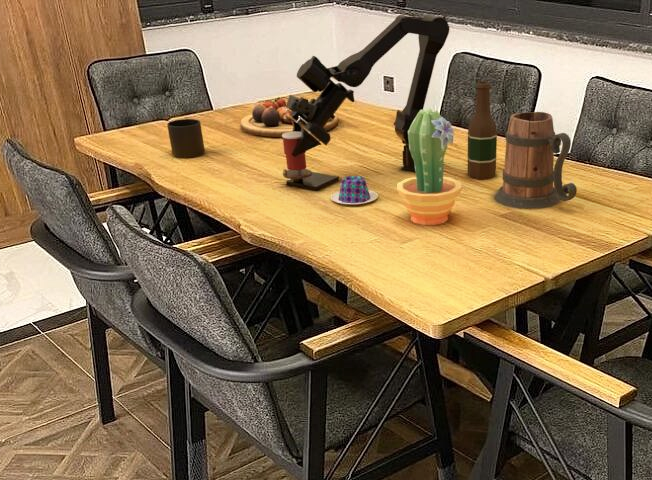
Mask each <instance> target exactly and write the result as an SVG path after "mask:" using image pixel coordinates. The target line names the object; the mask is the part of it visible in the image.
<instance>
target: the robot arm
mask: <svg viewBox="0 0 652 480" xmlns="http://www.w3.org/2000/svg"><path fill="white" fill-rule="evenodd" d="M449 33H450V25H449V23H448V21H447V19H445V18H443V17H441V16H438V15H435V14H425V16H423V17H421V16H412V15H411V16H410V15H405V14H399V15H397V16H396V17H395V18H394V20H393V21H392V22H391V23H390V24H389V25H387V26H386V28H384V29H383V30H382V31H381V32H380V33H379V34H378V35H377V36H376V37H374V39H373V40H371V41H370V42H369V43H368V44H367V45H365V47H363V49H361V50H359V51H358V52H356V53H354V54H351V55H349V56H348V57H346V58H344V59H342V60H341V61H340V62H339V63H338V64H337V65H335V66H331V67H326V66H325V65H324V64H323V63H322V62H321V60H320V59H319V58H318V57H317V56H315V55H312V56H311V58H309V59H308V60H306V61H305V62H304V63H302V64H301V65H300V67H299V68H298V70H297V72H296V77H297V79H298V80H299V81H300V82H302V83H303V84H304V85H305V86H306V87H307V88H309V89H310V90H311V91H312V92H313V93H317V92H319V95H318V96H317V98H315V97H313V98H311V99H310V101H309V99H308V98H304V97H303V96H300V97H298V96H294V95H292V94H289V96H288V99H287V102H286V107H288V108H289V110H291V111H292V112H291V114H290V116H291V117H292V118H294V119H295V120H292V119H291V121H292V124H293V130H292V132H301V133H302V136H301V138H300V139H299V141H298V143H297V145H296V146H295V148H294V150H293V152H292V155H293V156H294V157H296V156H298V155H300V154H302V153H303V152H305V151H306V152H307V151H310V150H311V149H314V148H316V147H318V146H322V144H323V145H325V146H328V144H329V143H330V142H331V134H330V133H329V132H328V131H327V130H326V129H325V128H324V127H325V125H326V124H327V123H328V121H329V120H330V119H331V118H332V119H334V118H335V117H336V116H334V114H336V112H337V111H338V109H339V108H340V107H341V106H342V105H343V103H344V102H345V101H346V100H348V101H350V102H351V103H354V102H355V96H354V94H355V90H353V89H351V88H358V87H359V86H361V85H362V84H363V83H364V81H365V80H366V79H367V78H368V76H369V75H370V73H371V71H372V69H373V67H374V66H375V64H376V63H377V62H379V61H380V59H382V57H384V56H385V55H386V54H388V52H389V51H390V50H391V49H392V48H394V47H395V46H396V45H397V44H398V43H400V41H401V40H403V38H405V37H406V36H407V35H408V34H412V35H413V34H414V35H418V38H417V39H418V47H419V52H418V55H417V60H416V64H415V68H414V72H413V76H412V79H411V84H410V88H409V93H408V96H407V101H406V104H405V106H404V107H403V109H402V110H400V109H397V110H396V114H395V115H396V116H395V121H394V122H393V123H392V125H393V126H394V132H395V134H396V136H397V137H398V138H399V139H400V140H401V143H402V144H404V145H403V150H402V152H401V153H402V166H401V167H400V170H402V171H409V172H414V173H416V172H415V165H414V160H413V157H412V155H411V152H410V150H409V139H408V130H409V128H410V126H411V124H412V122H413V121H414V119H415V117H416V116H417V114H418V112H419V111H420V110H424V107H425V103H426V101H427V97H428V96H427V95H428V91H429V88H430V84H431V80H432V76H433V71H434V69H435V64H436V60H437V57H438V54H439V53H440V52H441V49H443V47H444V46H445V44H446V41H447V39H448V36H449ZM331 78H332V79H333V80H335V81H336V82H338V83H335V82H334V81H333V80H332V79H331ZM342 83H343V84H345V85H346V86H348V87H350V89H347V87H345V85H343V84H342ZM325 130H326V131H325Z"/></svg>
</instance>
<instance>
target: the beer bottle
mask: <svg viewBox="0 0 652 480" xmlns="http://www.w3.org/2000/svg"><path fill="white" fill-rule="evenodd" d="M475 87H476V99H475V110H474V114H473V116H472V118H471V119H470V121H469V124H468V126H467V127H468V129H467V175H468V176H469V178H471V179H475V180H489V179H490V180H491V178H494V177H495V176H496V173H497V146H498V143H497V142H498V130H497V129H498V128H497V123H496V122H495V120H494V118H493V116H492V114H491V99H490V89H491V83H490V82H488V81H478V82H477V83H476V85H475Z"/></svg>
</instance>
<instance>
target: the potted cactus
mask: <svg viewBox="0 0 652 480" xmlns="http://www.w3.org/2000/svg"><path fill="white" fill-rule="evenodd" d="M454 131H455V130H454V128H453V125H452V123H451V122H450V121H448V120H447V119H446V118H444V117H443V116H442V115H441V114H440V113H439V111H438V110H437V109H434V110H432V108H428V109H426V110H424V109H423V110H420V111H419V112H418V114H417V116H416V117H415V119H414V121H413V122H412V124H411V126H410V128H409V130H408V139H409V150H410V152H411V155H412V157H413V160H414V165H415V172H414V173H415V176H414V177H409V178H405V179H403V180H401V181H400V182H398V183H396V190H397V194H398V196H399V197H401V199H402V203H403V205H404V207H405V209H406V210H407V212H408V213H409V214H410V215H411V216H410V221H411V222H413V223H415V224H417V225H424V226H435V225H440V224H444V223H446V222H447V221H448V220H449V216H448V214H450V212H451V210H452V209H453V208H454V206H455V203H456V200H457V197H458V196H459V195H460V194H461V191H462V183H461V182H460V181H459V180H456V179H454V178H452V177H448V176H444V162H445V160H444V159H445V156H446V153H447V149H448V144H450V145H454V135H455V132H454Z"/></svg>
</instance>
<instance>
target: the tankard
mask: <svg viewBox="0 0 652 480" xmlns="http://www.w3.org/2000/svg"><path fill="white" fill-rule="evenodd" d="M507 127H508V128H507V130H506V132H505V155H504V165H503V166H504V167H503V168H504V169H503V170H502V177H501V178H502V185H501V186H500V187H499V188H498V191H497V192H496V193H495V194H494V195H493V200H495V202H497V204H501V205H502V206H506V207H509V208H514V209H525V210H526V209H527V210H528V209H529V210H530V209H531V210H534V209H543V208H549V207H552V206H555V205H557V204H559V203H560V202H561V201H562V202H569V201H571V200H573V199H574V198H575V197H576V195H577V192H578V190H577V186H576V185H575V183H573V182H569V183H566V184H563V177H562V176H563V175H562V174H563V166H564V163H565V160H566V158H567V156H568V154H569V153H570V150H571V144H572V142H571V141H572V140H571V137H570V136H569V134H567V133H566V132H561V133H557V134H556V132H555V127H554V119H553V115H551V113H548V112H544V111H532V112H531V111H530V112H527V111H526V112H524V111H522V112H516V113H513V114H511V115H510V118H509V122H508V126H507ZM556 154H557V155H558V154H559V155H558V156H557V158H556V161H555V156H554V155H556ZM554 161H555V162H554Z"/></svg>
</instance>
